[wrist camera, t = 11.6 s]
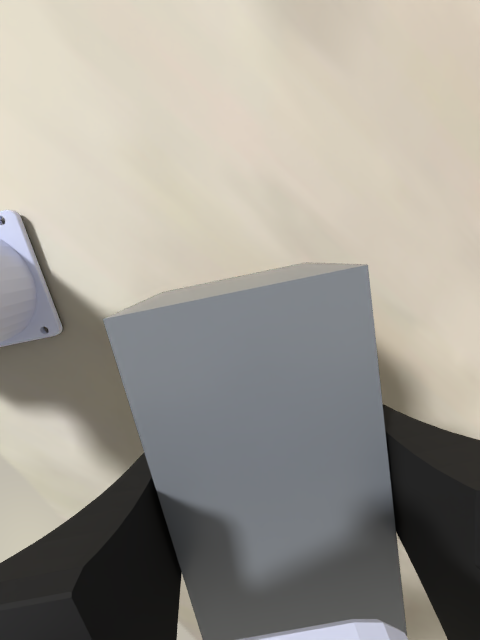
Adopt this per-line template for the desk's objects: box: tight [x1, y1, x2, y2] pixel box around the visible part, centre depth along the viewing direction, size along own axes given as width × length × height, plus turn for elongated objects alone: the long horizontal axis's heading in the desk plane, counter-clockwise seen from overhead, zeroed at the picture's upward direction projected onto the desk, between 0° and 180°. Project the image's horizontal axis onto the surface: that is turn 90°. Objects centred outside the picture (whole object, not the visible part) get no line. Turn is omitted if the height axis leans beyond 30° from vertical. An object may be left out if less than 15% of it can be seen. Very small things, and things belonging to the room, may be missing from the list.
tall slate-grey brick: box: [103, 263, 407, 640], centre depth 10 cm, size 6×12×6 cm, turn 12°
